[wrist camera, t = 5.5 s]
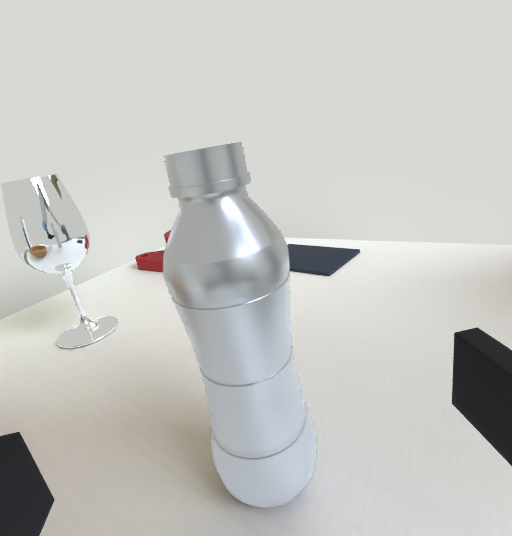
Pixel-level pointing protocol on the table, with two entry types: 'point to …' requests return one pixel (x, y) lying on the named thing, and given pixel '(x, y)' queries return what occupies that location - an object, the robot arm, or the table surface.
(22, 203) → the wineglass
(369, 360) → the table surface
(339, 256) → the mat
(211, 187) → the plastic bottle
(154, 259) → the lever
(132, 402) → the table surface
